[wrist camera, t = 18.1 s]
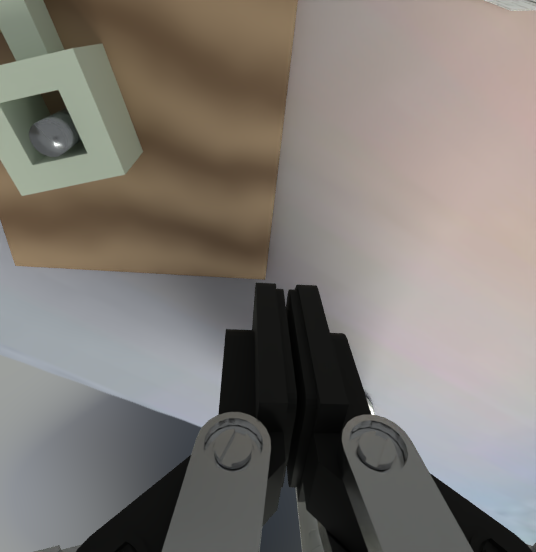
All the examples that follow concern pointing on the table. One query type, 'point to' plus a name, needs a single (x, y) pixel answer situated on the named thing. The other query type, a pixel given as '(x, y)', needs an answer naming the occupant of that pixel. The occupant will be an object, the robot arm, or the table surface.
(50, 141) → the post
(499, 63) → the table surface
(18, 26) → the hollow frame with stem
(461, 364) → the table surface
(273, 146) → the board
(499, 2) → the light bulb box
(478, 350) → the table surface
